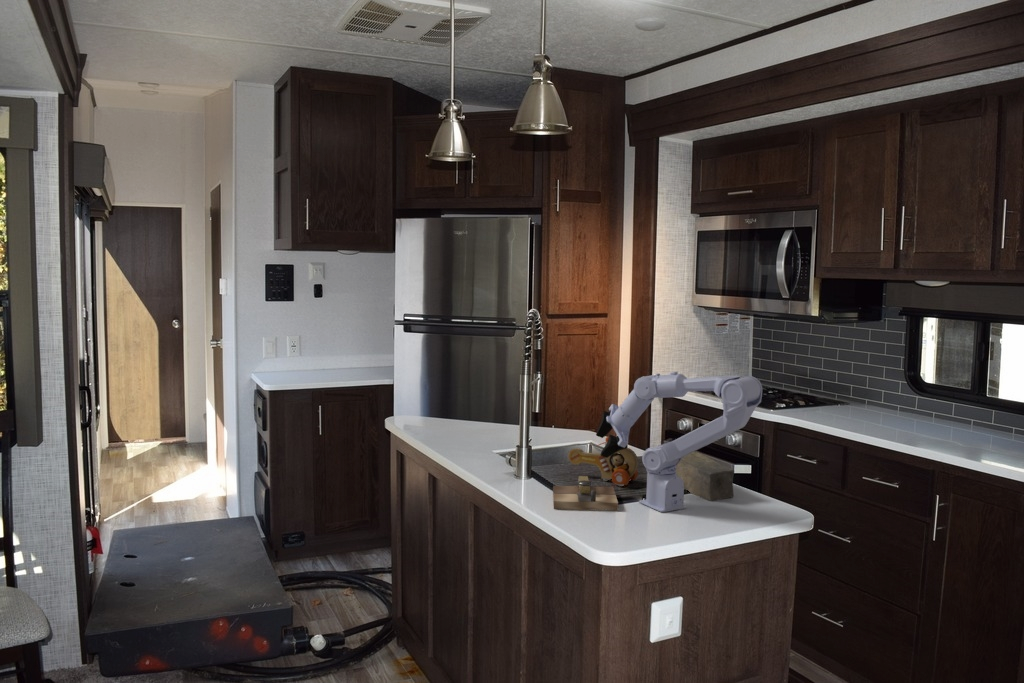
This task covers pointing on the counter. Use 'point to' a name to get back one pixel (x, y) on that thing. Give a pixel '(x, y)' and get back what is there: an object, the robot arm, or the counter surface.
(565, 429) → the counter surface
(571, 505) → the lock board
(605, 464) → the toy helicopter
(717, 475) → the weathered wooden bar
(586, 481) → the swing bar
